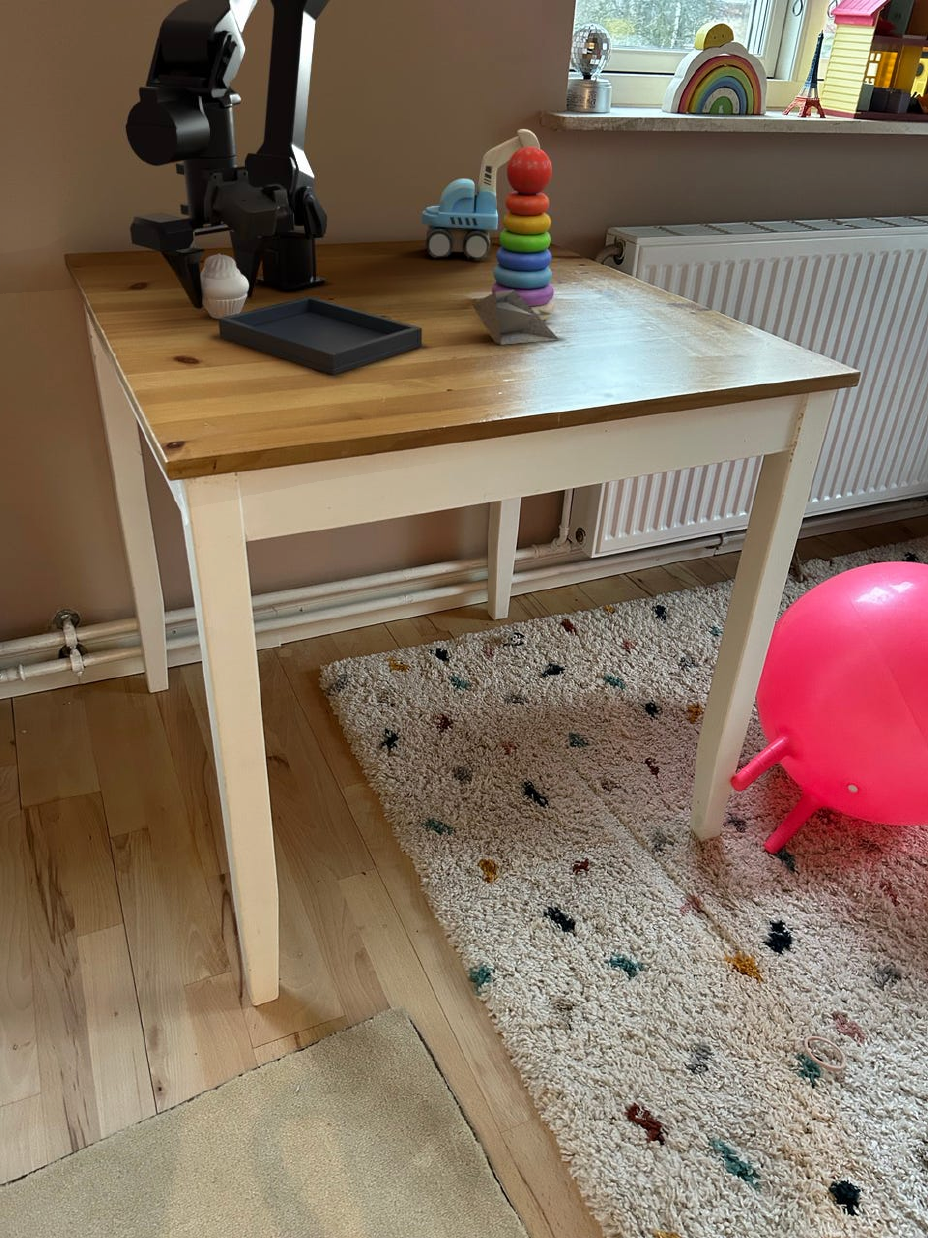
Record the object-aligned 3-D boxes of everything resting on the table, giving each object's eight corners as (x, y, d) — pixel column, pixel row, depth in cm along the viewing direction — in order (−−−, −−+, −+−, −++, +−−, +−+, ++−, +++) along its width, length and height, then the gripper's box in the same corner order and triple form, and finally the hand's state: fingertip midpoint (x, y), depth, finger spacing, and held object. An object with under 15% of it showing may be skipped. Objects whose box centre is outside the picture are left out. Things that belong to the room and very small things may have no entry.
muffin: (223, 305, 115) (217, 244, 111) (262, 314, 112) (257, 252, 109) (186, 316, 110) (178, 253, 107) (226, 326, 108) (220, 262, 104)
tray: (310, 314, 114) (309, 296, 112) (422, 346, 105) (422, 327, 103) (219, 337, 104) (217, 318, 103) (333, 375, 95) (332, 354, 94)
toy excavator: (533, 264, 140) (543, 134, 131) (420, 259, 140) (422, 128, 130) (530, 251, 147) (539, 127, 138) (423, 246, 147) (424, 121, 138)
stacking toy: (484, 306, 120) (493, 140, 109) (547, 307, 120) (561, 142, 110) (491, 324, 113) (501, 149, 103) (557, 325, 114) (574, 152, 103)
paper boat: (523, 313, 113) (587, 308, 107) (511, 365, 113) (574, 363, 107) (458, 268, 104) (524, 259, 98) (445, 324, 104) (510, 319, 98)
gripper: (185, 171, 92) (202, 333, 100) (325, 156, 104) (330, 301, 113) (116, 157, 97) (138, 312, 106) (257, 144, 110) (266, 284, 118)
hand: (223, 302), depth 111 cm, fingers open, 7 cm apart
